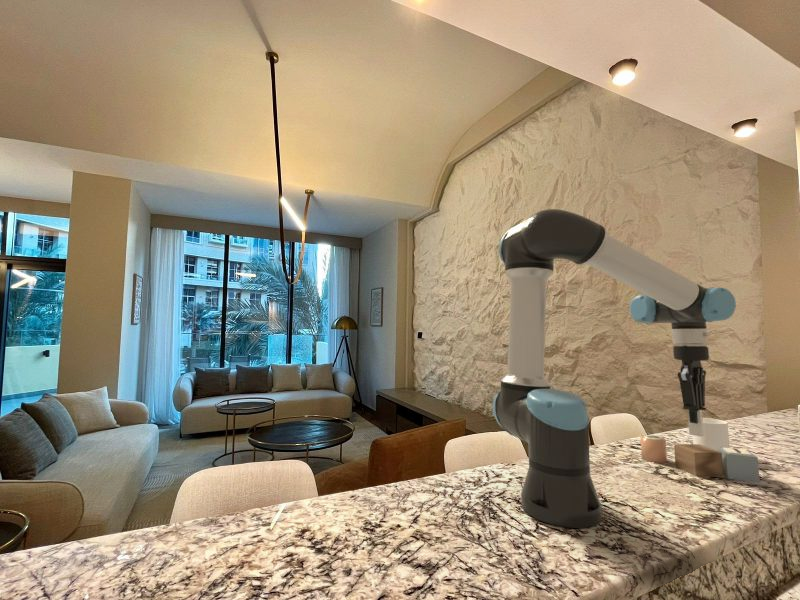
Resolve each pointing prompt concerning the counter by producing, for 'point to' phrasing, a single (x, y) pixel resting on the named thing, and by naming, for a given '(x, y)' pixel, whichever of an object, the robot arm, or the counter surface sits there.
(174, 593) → the counter surface
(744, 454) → the slate block
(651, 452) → the terracotta cylinder
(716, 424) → the cup
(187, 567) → the counter surface
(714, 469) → the walnut block
